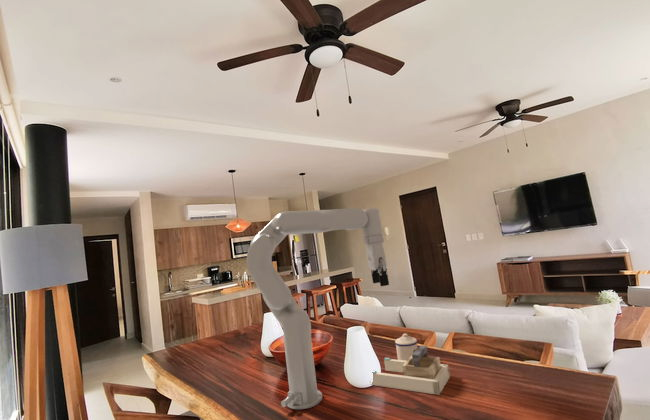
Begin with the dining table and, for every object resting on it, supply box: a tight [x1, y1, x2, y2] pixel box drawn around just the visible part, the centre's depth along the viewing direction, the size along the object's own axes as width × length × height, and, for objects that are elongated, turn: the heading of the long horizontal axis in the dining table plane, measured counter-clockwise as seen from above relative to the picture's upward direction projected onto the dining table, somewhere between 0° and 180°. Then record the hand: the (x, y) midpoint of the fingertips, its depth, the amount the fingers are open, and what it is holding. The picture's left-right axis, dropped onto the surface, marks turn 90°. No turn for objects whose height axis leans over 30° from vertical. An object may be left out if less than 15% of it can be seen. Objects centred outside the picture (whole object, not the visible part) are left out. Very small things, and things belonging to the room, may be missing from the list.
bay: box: [370, 357, 451, 396], centre depth 117 cm, size 16×24×5 cm, turn 56°
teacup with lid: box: [394, 333, 419, 361], centre depth 137 cm, size 12×9×12 cm
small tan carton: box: [402, 344, 442, 379], centre depth 114 cm, size 10×10×11 cm
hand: (380, 284), depth 127 cm, fingers open, 9 cm apart
